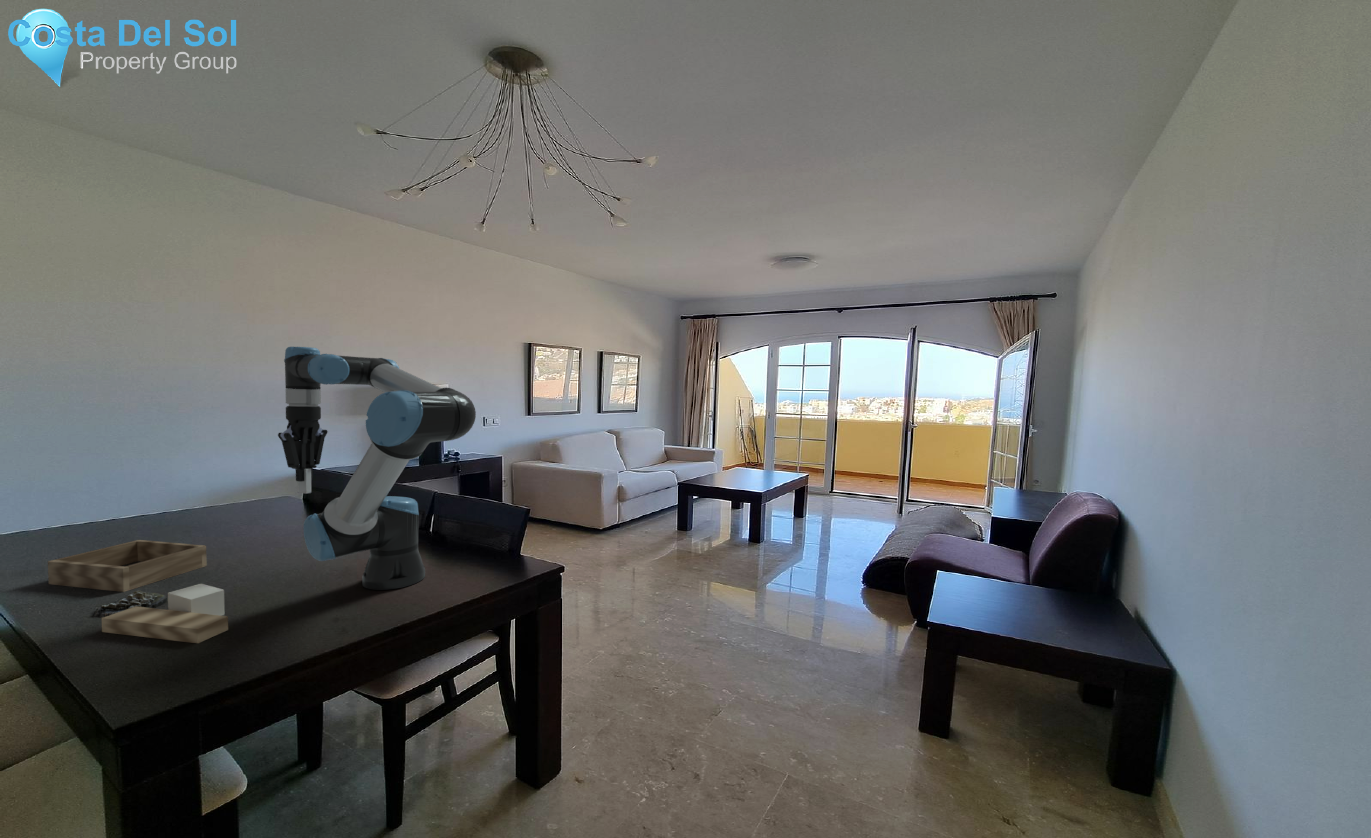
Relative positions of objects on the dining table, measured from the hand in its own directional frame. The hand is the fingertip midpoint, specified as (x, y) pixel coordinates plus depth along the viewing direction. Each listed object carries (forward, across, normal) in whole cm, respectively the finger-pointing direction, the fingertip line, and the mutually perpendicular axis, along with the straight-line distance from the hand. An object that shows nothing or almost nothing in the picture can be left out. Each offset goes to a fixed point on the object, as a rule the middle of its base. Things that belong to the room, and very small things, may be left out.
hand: (304, 492), depth 137 cm
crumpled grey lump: (+25, +22, -24) cm, 41 cm away
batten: (+24, +30, -4) cm, 39 cm away
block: (+25, +23, -5) cm, 34 cm away
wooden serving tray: (+24, +6, -48) cm, 54 cm away
